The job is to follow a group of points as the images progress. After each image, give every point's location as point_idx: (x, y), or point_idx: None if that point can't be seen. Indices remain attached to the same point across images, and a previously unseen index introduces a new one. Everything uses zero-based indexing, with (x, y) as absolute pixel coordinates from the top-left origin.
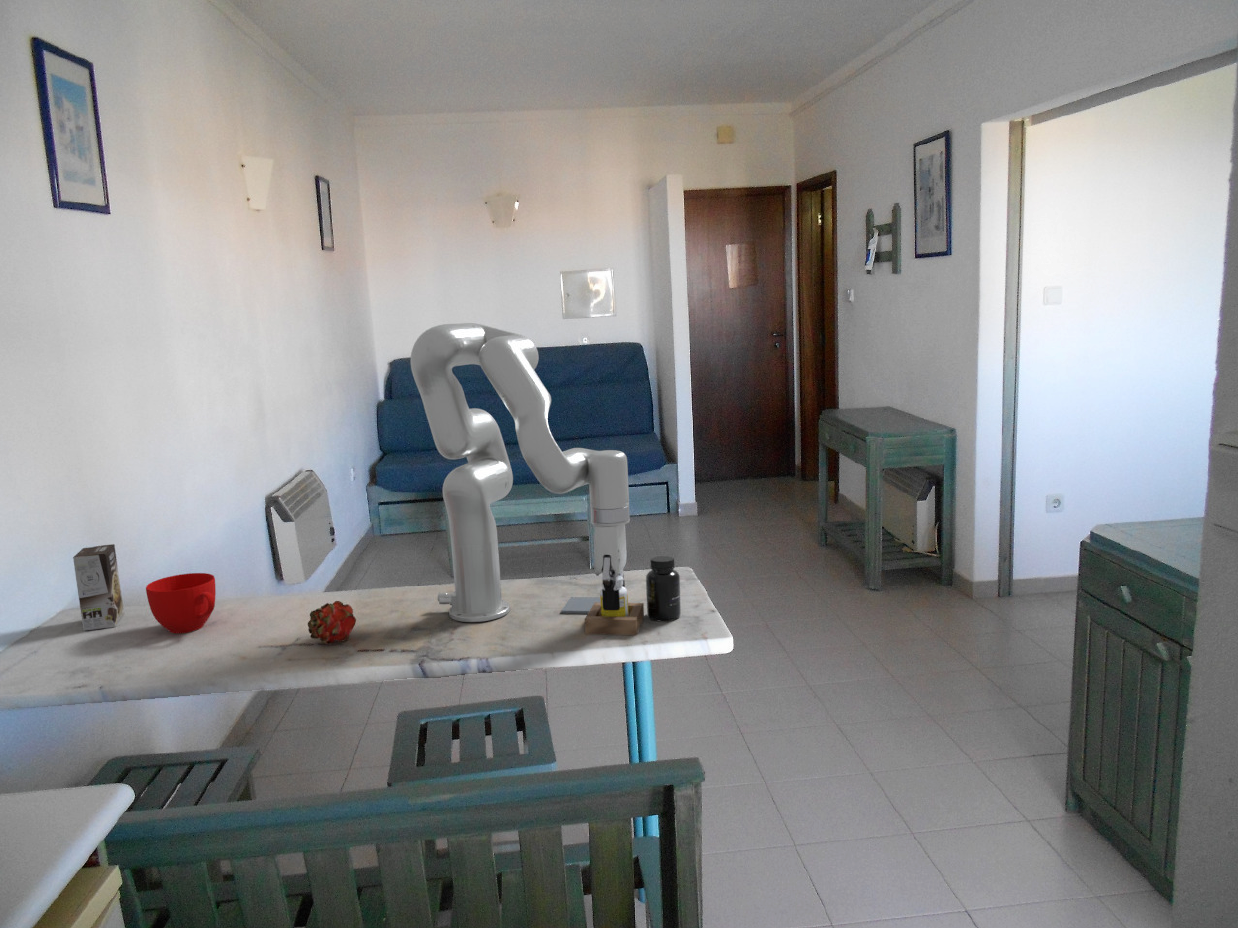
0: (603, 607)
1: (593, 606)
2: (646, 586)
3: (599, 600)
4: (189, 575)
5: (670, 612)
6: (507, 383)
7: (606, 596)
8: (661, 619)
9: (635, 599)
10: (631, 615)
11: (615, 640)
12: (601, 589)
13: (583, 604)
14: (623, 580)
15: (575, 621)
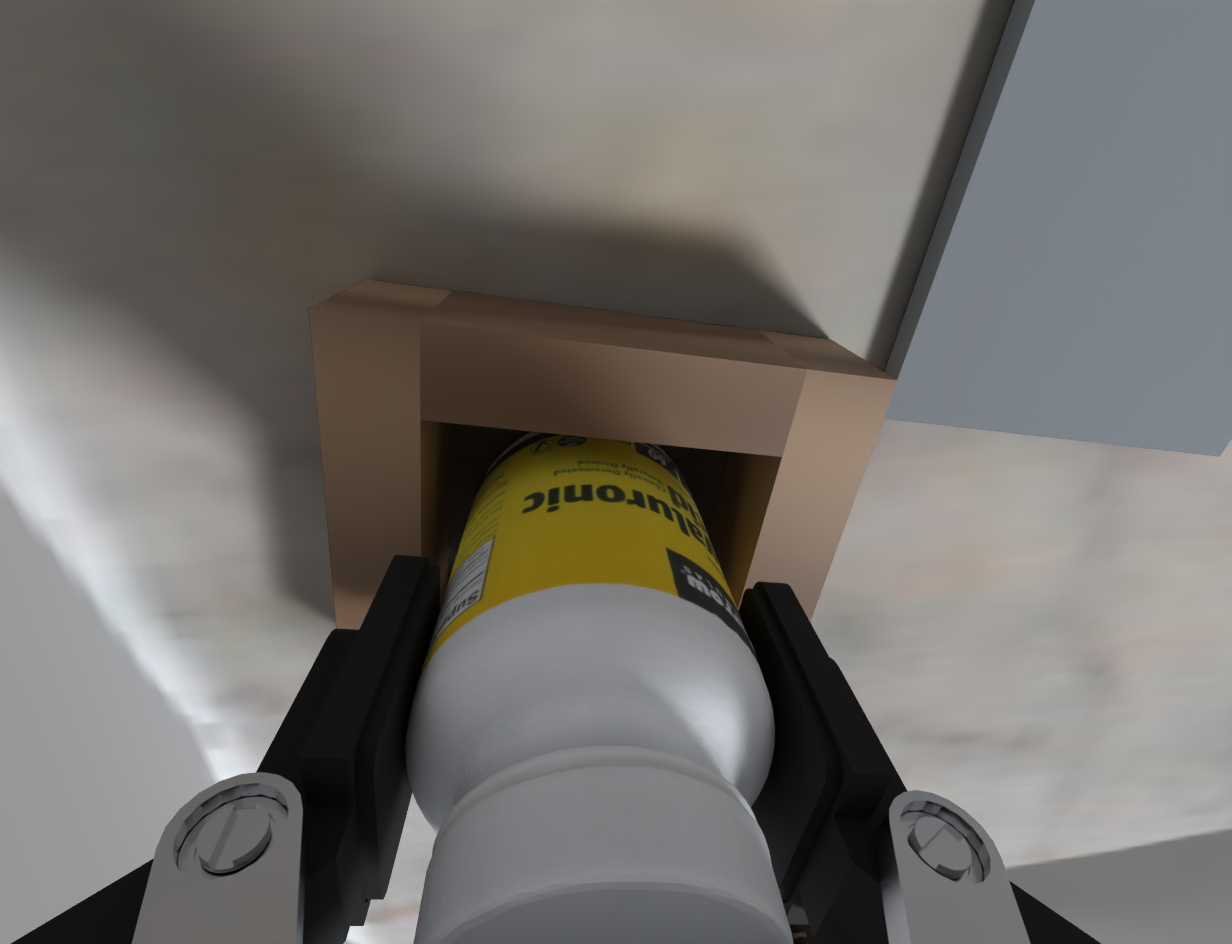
0: (390, 567)
1: (756, 377)
2: (799, 933)
3: (1197, 355)
4: None
5: None
6: None
7: (285, 731)
8: None
9: (1120, 600)
10: None
11: (252, 535)
12: (620, 647)
13: (1160, 198)
14: (792, 918)
15: (734, 139)
